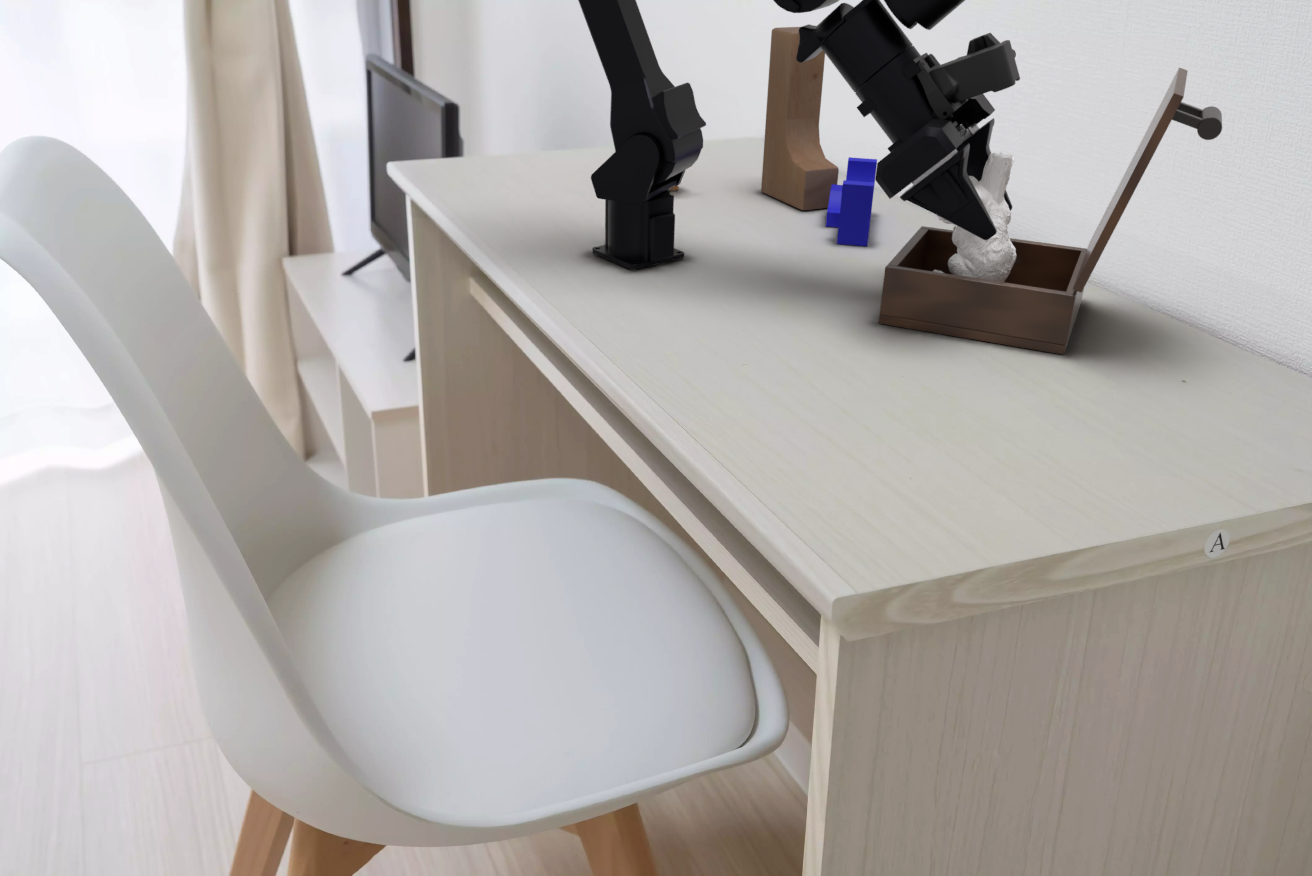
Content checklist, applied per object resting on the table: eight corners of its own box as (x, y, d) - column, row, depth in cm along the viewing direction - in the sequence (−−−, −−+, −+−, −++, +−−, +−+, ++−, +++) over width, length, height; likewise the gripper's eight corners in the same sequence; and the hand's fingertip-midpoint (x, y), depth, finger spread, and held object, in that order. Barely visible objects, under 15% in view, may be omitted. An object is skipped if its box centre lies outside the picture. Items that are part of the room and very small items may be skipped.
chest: (878, 323, 92) (885, 267, 90) (914, 277, 103) (921, 225, 101) (1063, 355, 87) (1075, 296, 85) (1081, 302, 98) (1092, 249, 96)
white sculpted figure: (950, 277, 100) (974, 141, 94) (1024, 295, 96) (1053, 154, 91) (911, 301, 94) (934, 157, 88) (989, 321, 90) (1017, 172, 85)
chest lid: (1173, 92, 76) (1236, 115, 75) (1179, 67, 88) (1233, 87, 87) (1072, 289, 84) (1127, 312, 83) (1089, 243, 96) (1138, 262, 95)
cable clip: (829, 211, 123) (834, 156, 120) (871, 214, 122) (877, 159, 119) (821, 242, 112) (827, 182, 109) (867, 246, 111) (873, 186, 109)
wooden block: (836, 208, 124) (853, 36, 116) (802, 211, 122) (816, 38, 114) (792, 189, 131) (805, 26, 123) (759, 192, 129) (770, 27, 121)
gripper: (942, 10, 78) (1075, 189, 79) (987, -9, 93) (1098, 141, 94) (821, 113, 84) (946, 277, 85) (882, 79, 100) (987, 219, 101)
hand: (1000, 224), depth 91 cm, fingers closed on white sculpted figure, 8 cm apart
